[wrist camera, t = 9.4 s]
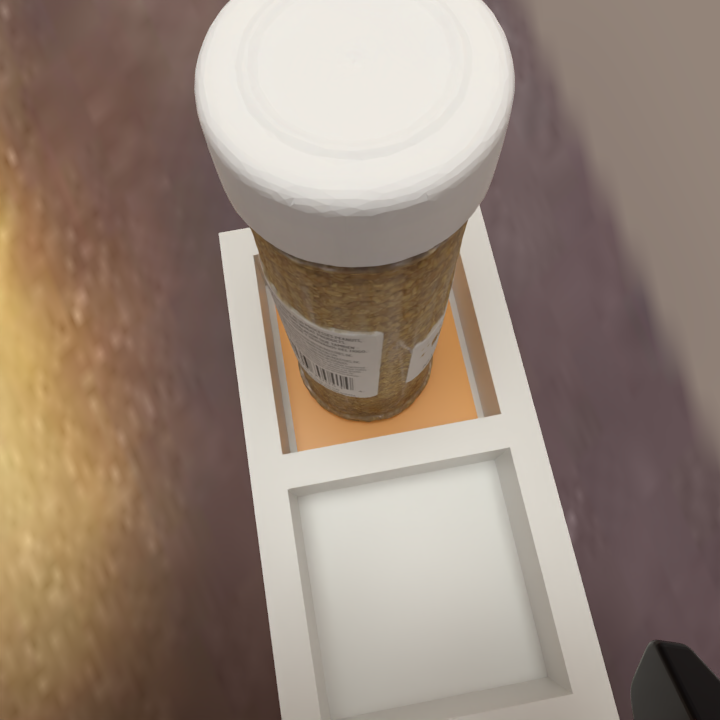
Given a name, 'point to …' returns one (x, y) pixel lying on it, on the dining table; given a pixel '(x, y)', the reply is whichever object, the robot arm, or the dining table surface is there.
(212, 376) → the dining table surface
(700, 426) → the dining table surface
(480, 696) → the condiment rack
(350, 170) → the sprinkles bottle
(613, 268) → the dining table surface
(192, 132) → the dining table surface
